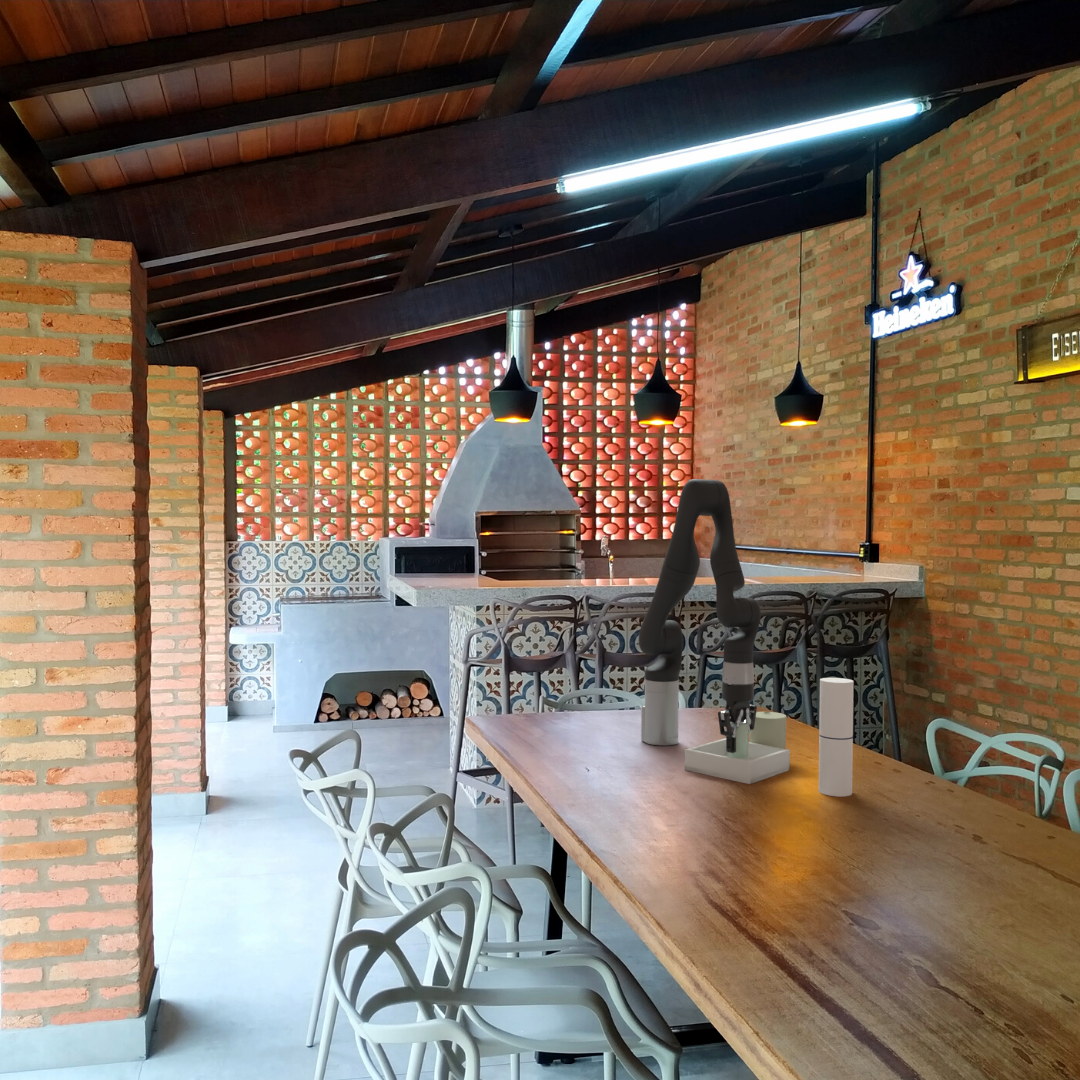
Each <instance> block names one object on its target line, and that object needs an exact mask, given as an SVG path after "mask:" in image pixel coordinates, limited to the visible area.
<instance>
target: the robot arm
mask: <svg viewBox="0 0 1080 1080" xmlns="http://www.w3.org/2000/svg"><path fill="white" fill-rule="evenodd" d="M675 516H676V517H675V520H674V526H673V531H672V534H671V539H670V541H669V544H668V548H667V551H666V554H665V558H664V560H663V563H662V567H661V570H660V574H659V578H658V581H657V584H656V588H655V591H654V593H653V596H652V599H651V602H650V604H649V606H648V609H647V610H646V614H645V616H644V618H643V621H642V624H640V625H641V626H640V629H639V633H638V646H639V648H640V650H641V652H642V653H644V654H645V655H649V656H657V655H659V657H658V659H657V660H656V661H655V662H654V663H653V664H651V665H649V666H647V667H646V668H645V670H644V705H642V706H641V714H640V715H641V717H640V718H641V723H640V724H641V727H640V728H641V730H640V733H641V734H640V737H641V738H640V739H641V742H644V743H645V744H649V745H652V746H654V745H655V746H674V745H677V744H679V716H680V715H679V714H680V713H679V710H680V707H679V705H680V704H679V702H680V701H679V700H680V697H679V695H680V694H679V692H680V691H679V689H680V684H679V683H680V682H679V681H680V672H681V669H682V659H683V646H684V639H683V638H684V637H683V631H682V628H681V625H680V624H679V622H677V621H676V620H671V619H668V617H669V616H670V614H671V612H672V611H673V610H674V608H676V606H677V605H678V604H679V603H680V602H681V601H682V600H683V599H684V598H685V597H686V595H688V593H689V592H690V591H691V590H692V589H693V586H694V584H695V582H696V578H697V575H698V571H699V568H700V565H701V561H700V555H699V550H698V547H697V545H696V541H695V530H696V529H695V528H696V524H697V521H698V518H699V517H701V516H704V517H705V516H706V517H711V519H712V520H713V525H714V528H715V533H714V539H713V543H712V546H711V550H710V555H709V564H710V567H711V572H712V575H713V580H714V582H715V589H716V590H715V593H716V594H715V596H716V597H715V598H716V600H715V601H716V604H715V606H716V607H715V608H716V609H715V612H716V616H717V617H716V618H717V620H718V622H719V623H720V624H721V625H722V626H723V627H725V628H728V629H729V628H731V629H732V628H737V632H736V634H734V635H732V636H729V637H727V638H725V639H724V641H723V666H722V670H721V671H722V674H721V676H722V677H721V680H722V681H721V683H722V684H721V686H722V687H721V688H722V689H721V693H722V695H721V698H722V700H724V701H725V702H726V704H725V708H724V710H722V711H721V710H719V711H718V712H717V717H718V725H719V734H720V735H722V736H725V738H726V751H727V752H730V753H735V752H736V737H735V736H736V732H737V729H738V728H739V725H740V722H745V723H748V735H750V730H753V729H754V725H755V718H756V712H758V711H757V710H758V706H757V705H755V704H754V705H753V704H751V703H750V702H752V701H754V697H755V689H754V687H755V669H754V668H755V667H754V646H755V645H754V644H755V640H756V638H757V634H758V631H759V627H760V623H761V619H762V618H761V617H762V611H761V606H760V604H759V602H758V601H757V600H755V598H751V597H735V595H734V592H737V591H739V590H741V589H742V588H743V587H744V586H745V581H746V580H745V577H744V573H743V570H742V565H741V562H740V559H739V556H738V551H737V546H736V540H735V531H734V522H733V515H732V507H731V500H730V495H729V491H728V487H727V486H726V484H725V483H724V482H723V481H721V480H718V479H701V478H696V479H695V478H694V479H693V478H692V479H689V480H688V481H687V482H685V484H684V486H683V487H682V490H681V493H680V497H679V501H678V506H677V510H676V515H675ZM667 619H668V620H667ZM750 719H751V724H750ZM730 722H732V723H735V724H731V723H730ZM731 727H733V730H732V731H731Z"/></svg>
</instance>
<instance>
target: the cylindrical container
mask: <svg viewBox="0 0 1080 1080" xmlns="http://www.w3.org/2000/svg"><path fill="white" fill-rule="evenodd" d="M854 682H855V681H854V680H852V679H849V678H842V677H822V678H820V679H819V724H818V725H819V731H818V732H819V734H818V735H819V737H818V738H819V739H818V740H819V743H818V747H819V748H818V792H819V793H820V794H822V795H826V796H830V797H841V798H842V797H850V796H852V795H853V758H854V757H853V753H854V752H853V749H854V748H853V747H854V746H853V745H854V743H853V742H854Z"/></svg>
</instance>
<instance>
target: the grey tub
mask: <svg viewBox="0 0 1080 1080" xmlns="http://www.w3.org/2000/svg"><path fill="white" fill-rule="evenodd" d="M790 752H791V750H790V749H787V748H786V749H783V748H778V747H772V746H767V745H762V744H756V743H751V742H750V741H748V757H747V758H731V757H728V756H727V751H726V737H725V738H724V737H723V738H722V739H717V740H713V741H711V742H707V743H703V744H700V745H695V746H692V747H690V748H684V770H685V771H686V772H687V771H688V772H693V773H696V774H702V775H706V776H711V777H715V778H720V779H723V780H729V781H734V782H738V783H743V784H747V785H751V784H754V783H757V782H761V781H763V780H766V779H768V778H771V777H775V776H777V775H781V774H783V773H786V772H788V771H790V761H791V760H790V759H791V758H790V757H791V756H790Z"/></svg>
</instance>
